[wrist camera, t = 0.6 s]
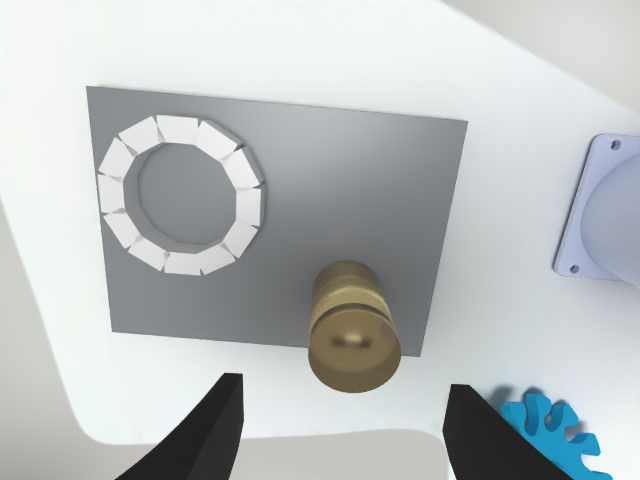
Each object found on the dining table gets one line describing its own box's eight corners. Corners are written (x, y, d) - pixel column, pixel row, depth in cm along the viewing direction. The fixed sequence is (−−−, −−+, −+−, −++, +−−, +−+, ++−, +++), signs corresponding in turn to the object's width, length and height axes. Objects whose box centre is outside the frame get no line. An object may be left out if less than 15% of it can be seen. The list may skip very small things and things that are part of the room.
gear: (635, 455, 25) (615, 639, 20) (554, 444, 30) (522, 588, 25) (512, 350, 24) (459, 514, 19) (451, 358, 29) (396, 488, 24)
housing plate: (461, 120, 20) (479, 121, 17) (416, 347, 24) (425, 372, 22) (97, 87, 19) (66, 83, 17) (120, 323, 24) (97, 346, 21)
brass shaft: (385, 263, 21) (408, 318, 16) (376, 325, 22) (393, 396, 17) (315, 257, 21) (312, 310, 15) (309, 319, 22) (305, 389, 17)
